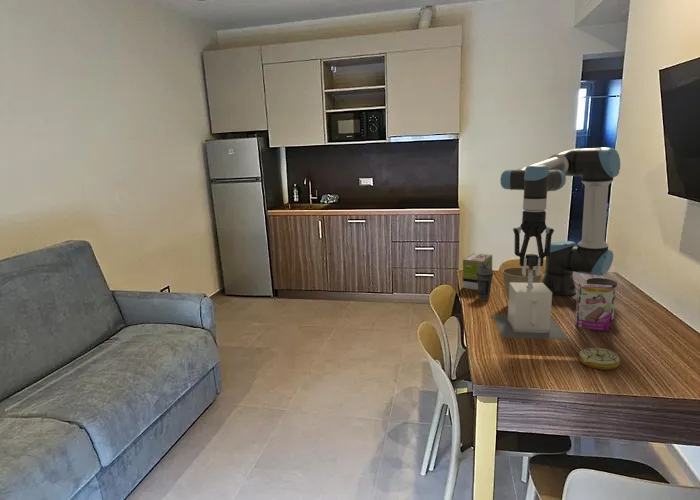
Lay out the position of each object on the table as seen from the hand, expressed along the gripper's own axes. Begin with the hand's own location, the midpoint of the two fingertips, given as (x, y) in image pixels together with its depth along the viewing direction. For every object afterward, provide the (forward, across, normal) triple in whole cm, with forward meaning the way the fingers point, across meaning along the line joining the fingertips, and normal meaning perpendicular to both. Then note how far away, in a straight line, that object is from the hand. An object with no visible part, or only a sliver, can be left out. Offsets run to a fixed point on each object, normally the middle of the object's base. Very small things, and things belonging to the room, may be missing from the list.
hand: (530, 274), depth 156 cm
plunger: (+17, 0, 0) cm, 17 cm away
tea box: (+21, +11, -54) cm, 59 cm away
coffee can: (+21, -30, -15) cm, 40 cm away
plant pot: (+21, -2, -22) cm, 31 cm away
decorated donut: (+21, -15, +26) cm, 37 cm away
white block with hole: (+20, 0, +1) cm, 20 cm away
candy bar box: (+21, -23, -2) cm, 31 cm away
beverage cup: (+21, +11, -34) cm, 41 cm away
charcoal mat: (+21, 0, 0) cm, 21 cm away
